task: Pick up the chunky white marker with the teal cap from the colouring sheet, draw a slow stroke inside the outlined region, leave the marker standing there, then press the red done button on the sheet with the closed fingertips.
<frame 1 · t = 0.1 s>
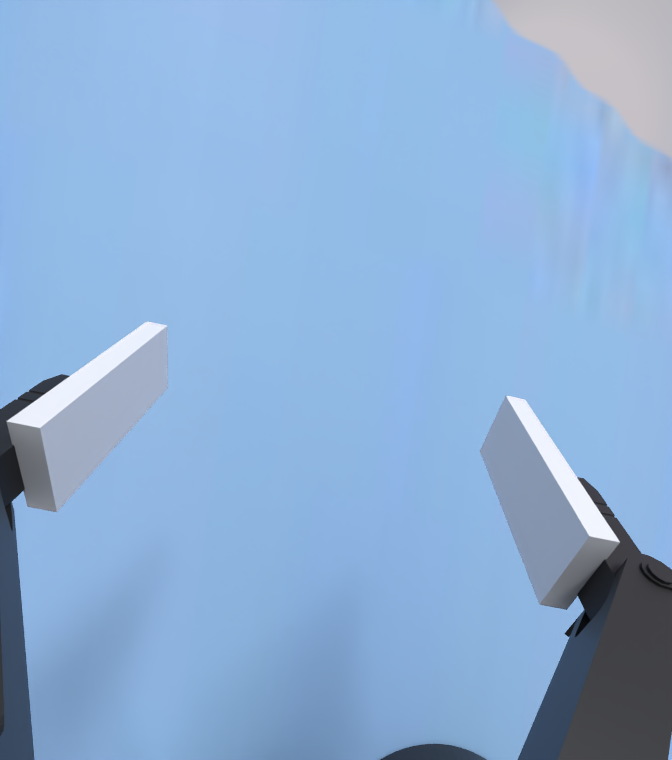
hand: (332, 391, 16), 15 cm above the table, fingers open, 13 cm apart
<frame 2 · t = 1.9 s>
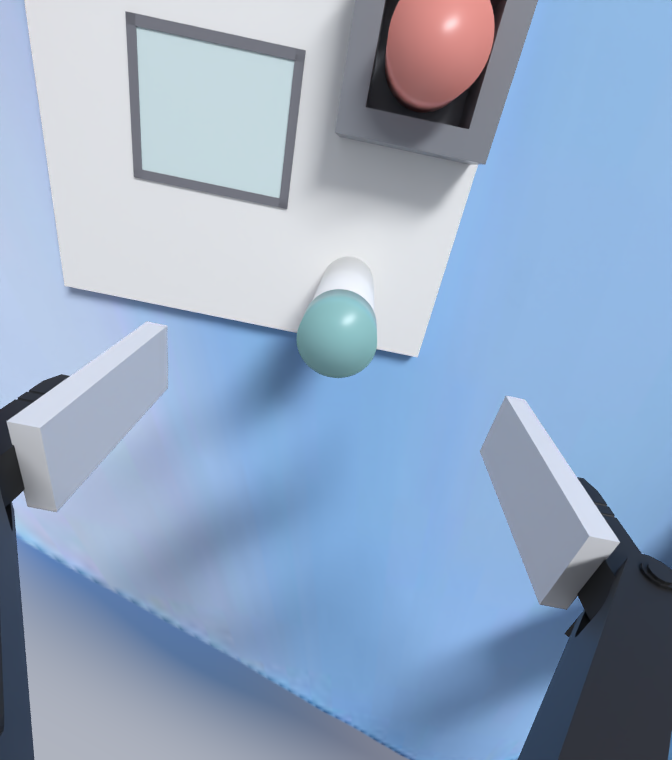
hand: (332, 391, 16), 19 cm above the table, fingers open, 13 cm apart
sheet: (259, 161, 29), on the table
marker: (348, 282, 31), point 1 cm above the table, touching sheet
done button: (433, 51, 21), point 5 cm above the table, slide at 0.0 cm
button housing: (424, 68, 25), resting on sheet
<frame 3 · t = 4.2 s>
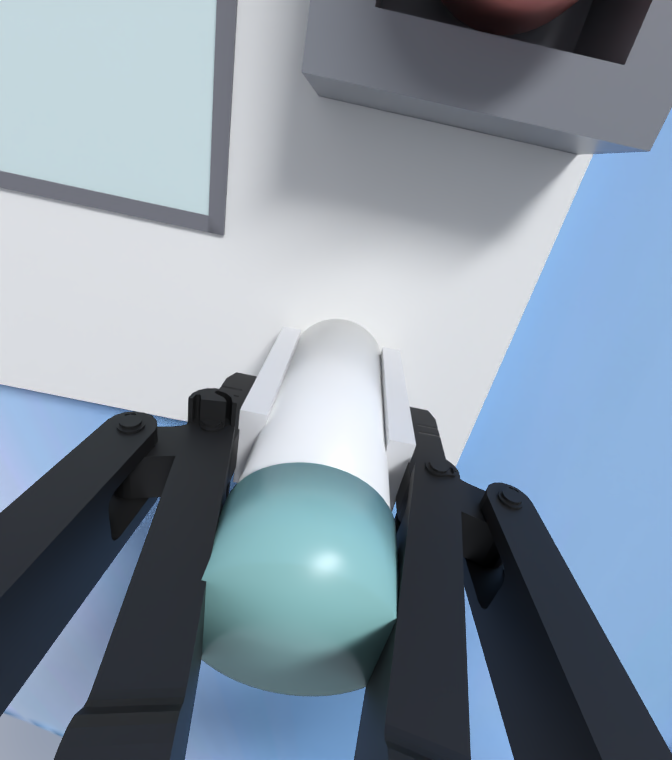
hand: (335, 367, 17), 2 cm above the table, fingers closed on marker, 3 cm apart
sheet: (171, 146, 16), on the table
marker: (336, 361, 18), point 1 cm above the table, touching gripper, sheet
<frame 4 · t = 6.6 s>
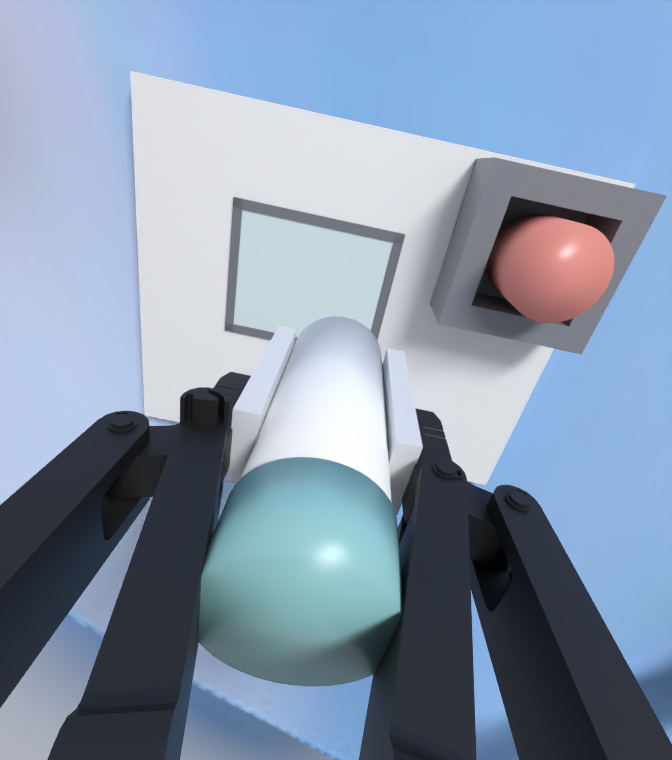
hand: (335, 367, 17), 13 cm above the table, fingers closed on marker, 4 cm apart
sheet: (345, 315, 30), on the table
marker: (337, 358, 18), point 12 cm above the table, touching gripper
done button: (543, 266, 22), point 5 cm above the table, slide at 0.0 cm
button housing: (518, 252, 26), resting on sheet
when the fingers open (2 cm above the table, at t = 9.4 s): marker stays where it is, resting on sheet.
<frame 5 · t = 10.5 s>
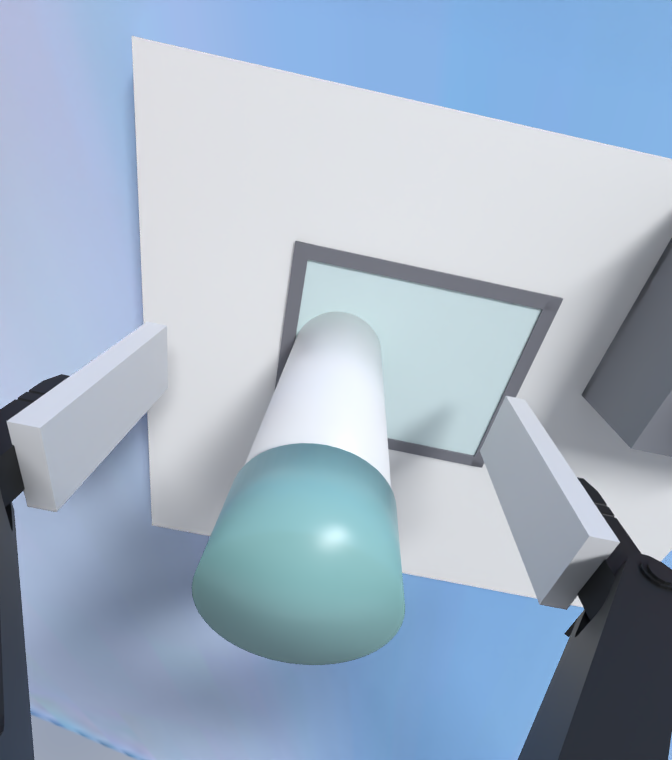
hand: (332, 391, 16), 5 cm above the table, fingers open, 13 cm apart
sheet: (444, 402, 21), on the table
marker: (337, 353, 18), point 1 cm above the table, touching sheet
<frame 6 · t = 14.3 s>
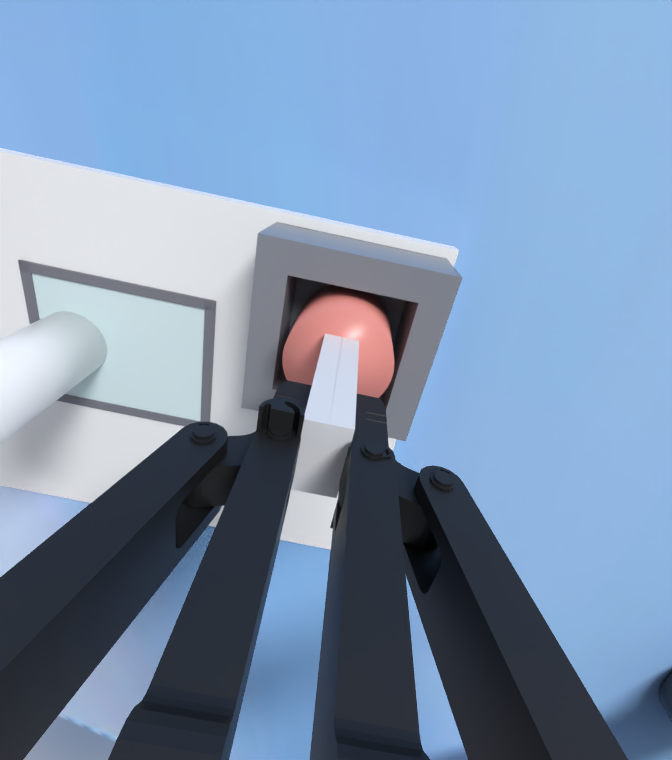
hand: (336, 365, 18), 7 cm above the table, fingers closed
sheet: (179, 381, 27), on the table
marker: (74, 342, 25), point 1 cm above the table, touching sheet
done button: (340, 345, 20), point 5 cm above the table, slide at -0.7 cm, touching gripper
button housing: (344, 321, 23), resting on sheet
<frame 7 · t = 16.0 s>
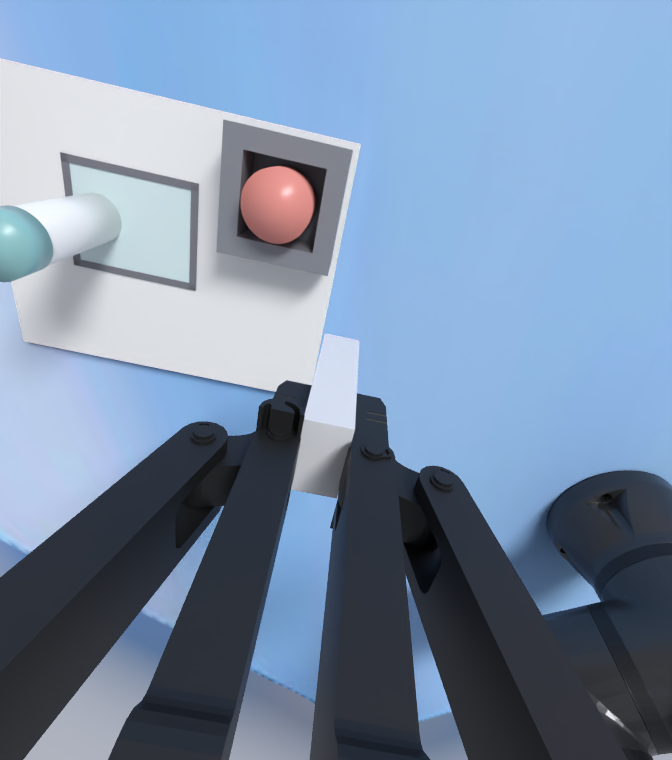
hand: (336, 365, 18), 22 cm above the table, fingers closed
sheet: (173, 253, 37), on the table
marker: (98, 217, 35), point 1 cm above the table, touching sheet
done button: (281, 203, 30), point 5 cm above the table, slide at -0.7 cm
button housing: (288, 198, 33), resting on sheet
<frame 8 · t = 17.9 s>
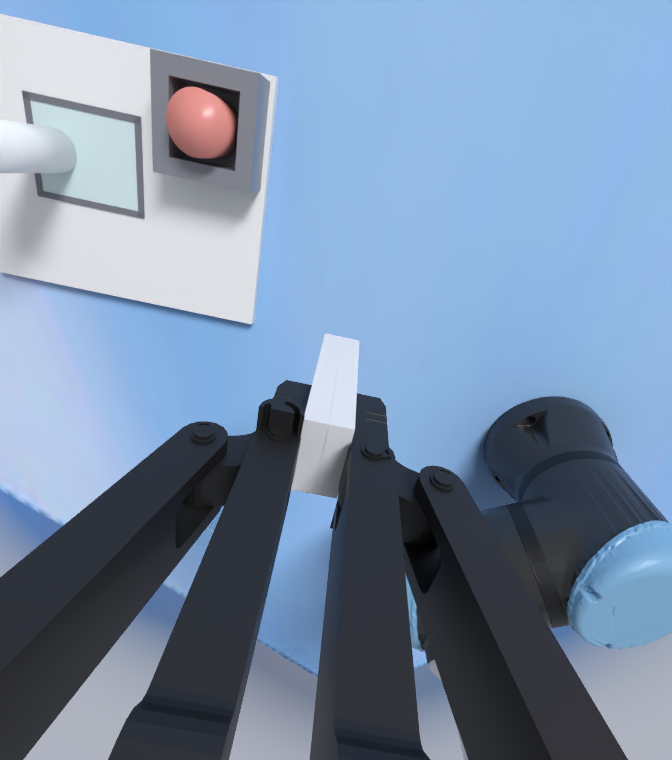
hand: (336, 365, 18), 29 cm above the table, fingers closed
sheet: (124, 185, 42), on the table
marker: (56, 150, 40), point 1 cm above the table, touching sheet
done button: (205, 125, 35), point 5 cm above the table, slide at -0.7 cm
button housing: (218, 128, 38), resting on sheet
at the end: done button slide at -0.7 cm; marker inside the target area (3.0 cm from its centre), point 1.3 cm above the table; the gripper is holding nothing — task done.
